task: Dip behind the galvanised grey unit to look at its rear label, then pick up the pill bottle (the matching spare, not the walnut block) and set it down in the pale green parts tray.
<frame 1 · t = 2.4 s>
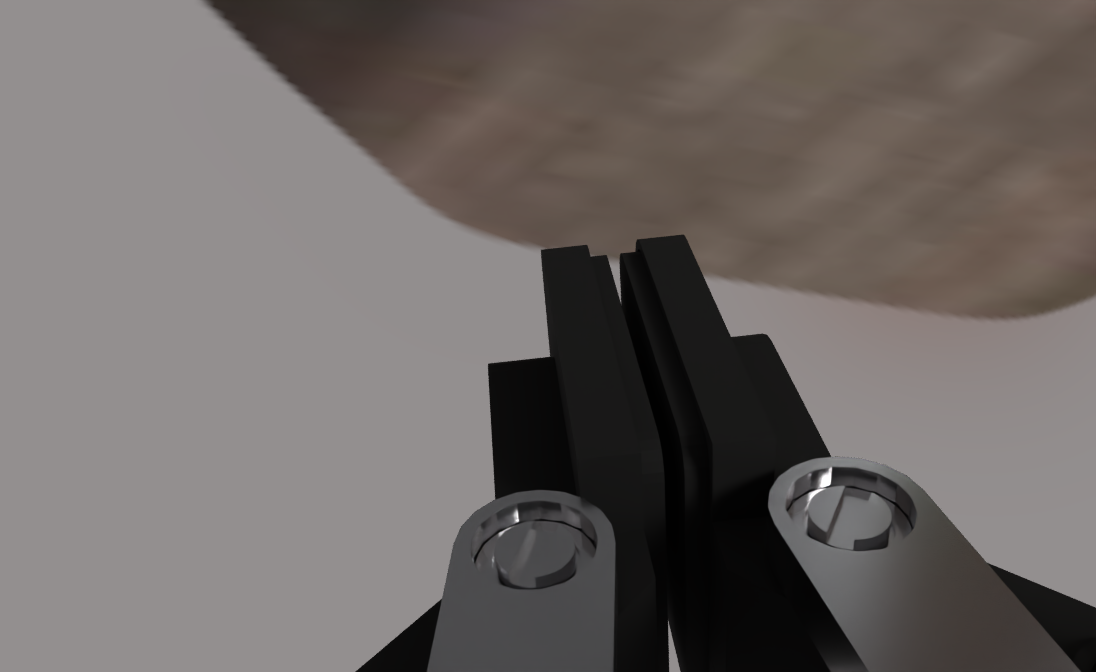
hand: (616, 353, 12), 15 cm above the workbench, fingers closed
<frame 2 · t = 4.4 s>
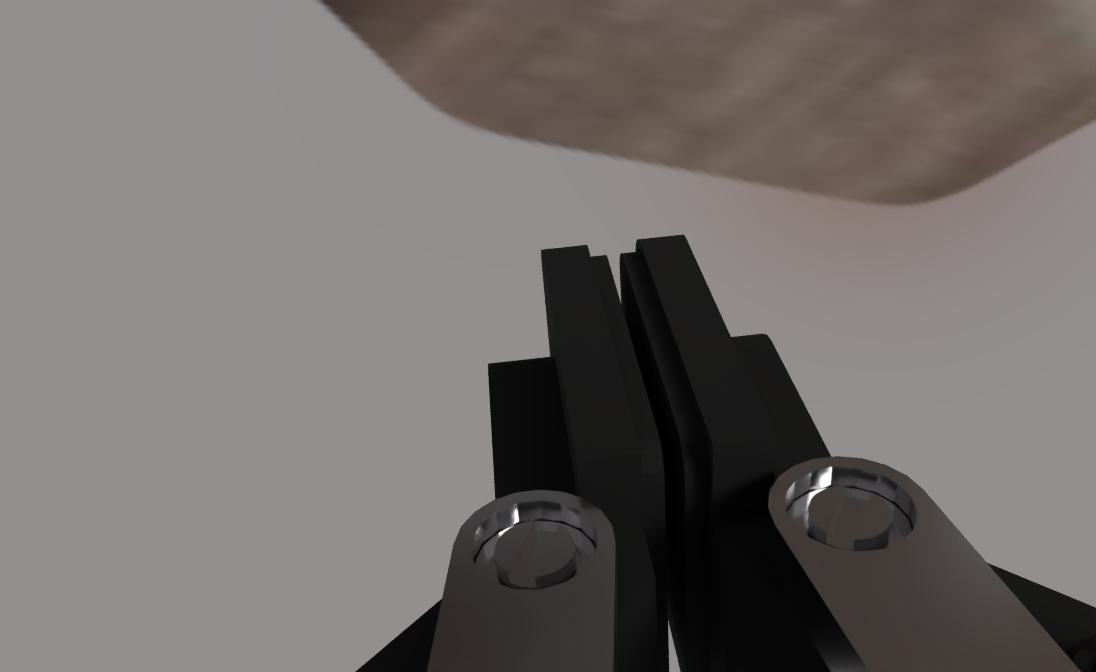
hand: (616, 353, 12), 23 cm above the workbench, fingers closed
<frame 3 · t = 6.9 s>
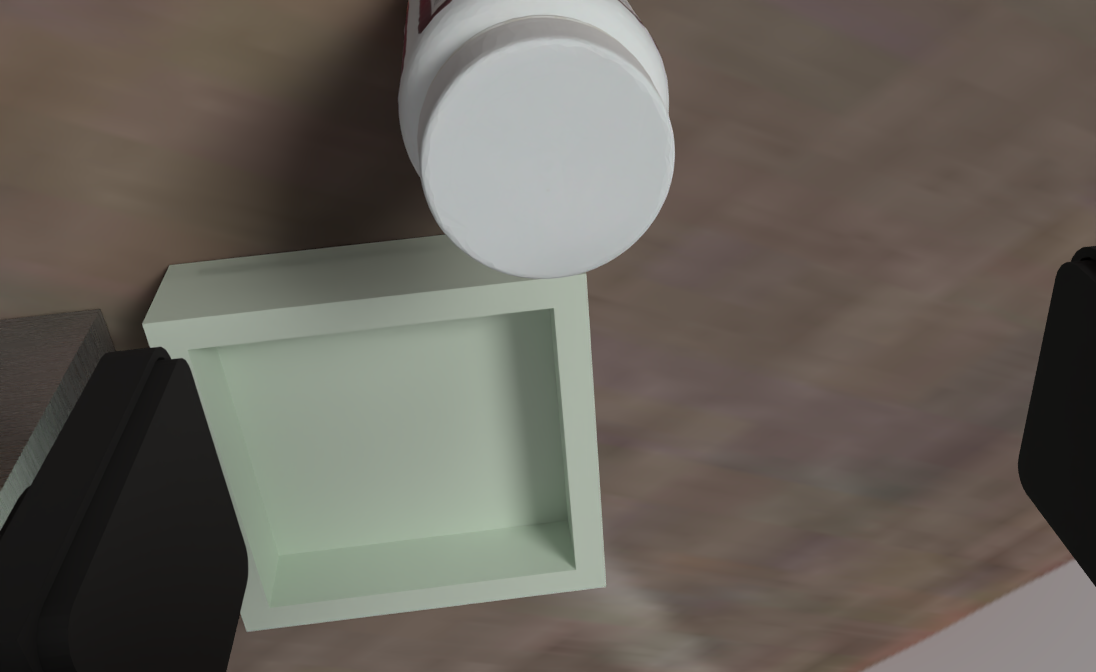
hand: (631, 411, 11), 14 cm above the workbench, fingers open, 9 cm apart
tray: (403, 404, 28), on the workbench
pill bottle: (513, 20, 23), on the workbench
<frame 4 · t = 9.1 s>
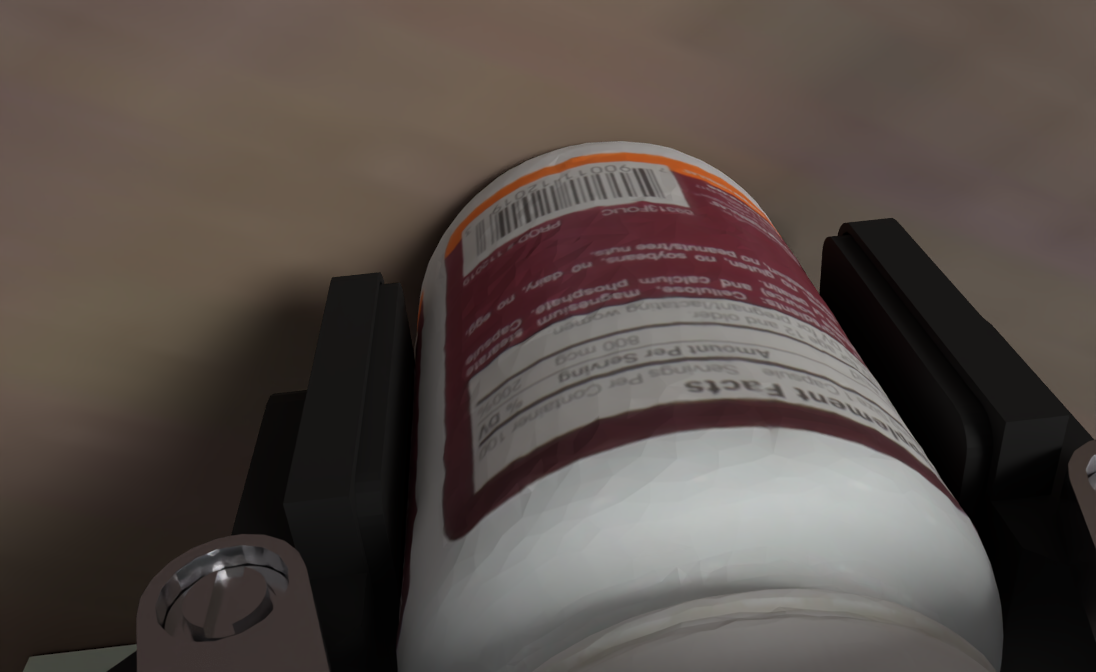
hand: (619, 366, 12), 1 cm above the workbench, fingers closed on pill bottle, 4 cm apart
pill bottle: (603, 299, 13), on the workbench, touching gripper
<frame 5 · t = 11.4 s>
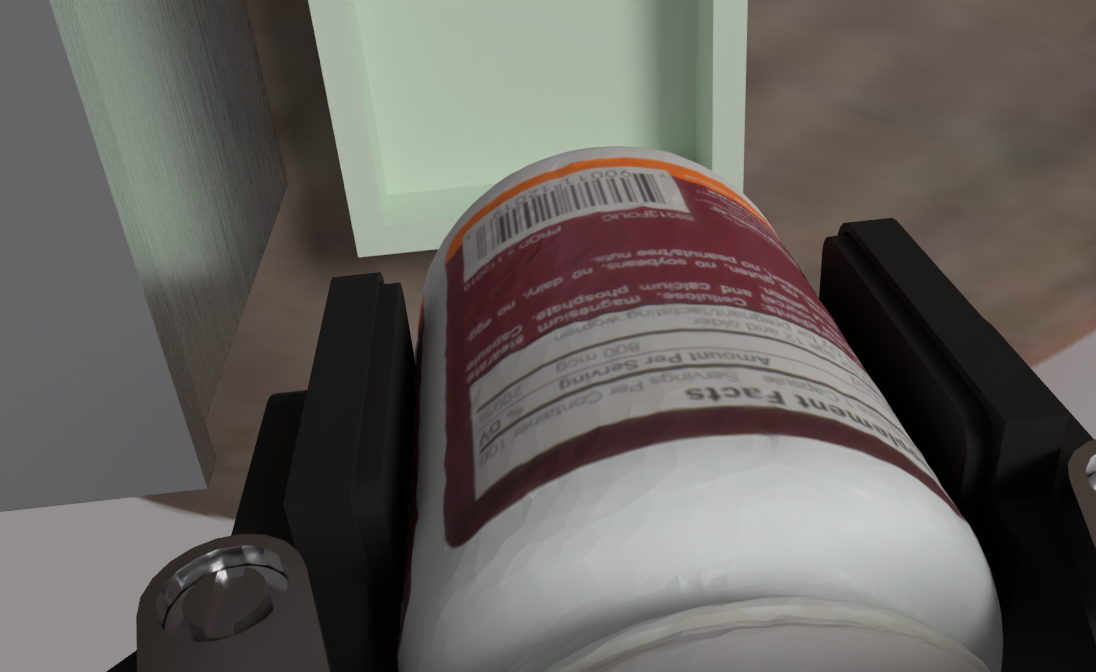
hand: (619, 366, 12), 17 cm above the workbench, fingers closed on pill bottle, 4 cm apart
unit: (96, 57, 26), on the workbench
tray: (527, 14, 26), on the workbench
pill bottle: (603, 303, 13), point 15 cm above the workbench, touching gripper
when the fingers open (4 cm above the workbench, at t = 14.0 s): pill bottle drops 1 cm, resting on tray.
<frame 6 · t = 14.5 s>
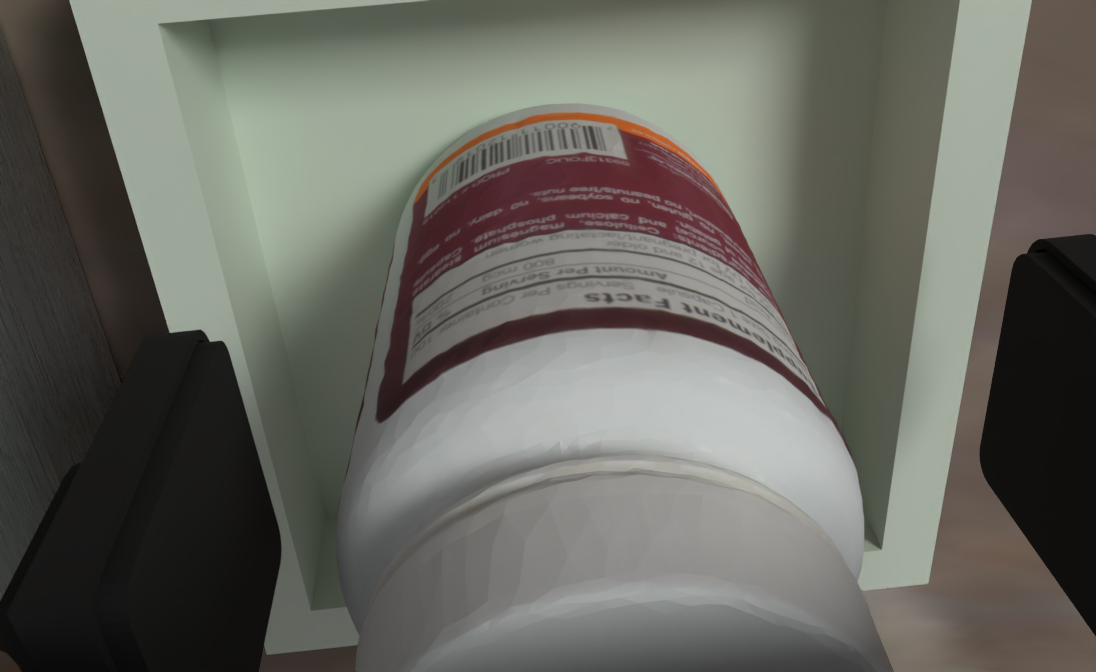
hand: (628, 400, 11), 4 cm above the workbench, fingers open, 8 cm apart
tray: (564, 237, 15), on the workbench
pill bottle: (566, 252, 14), point 1 cm above the workbench, touching tray
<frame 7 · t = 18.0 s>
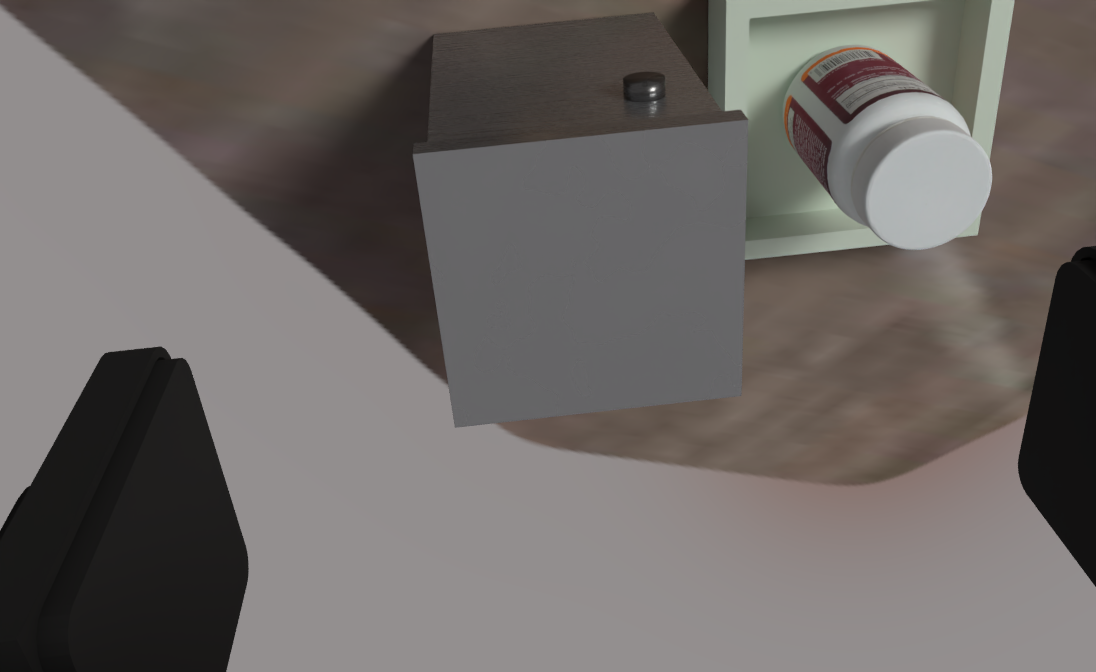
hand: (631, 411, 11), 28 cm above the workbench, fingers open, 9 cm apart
unit: (552, 129, 39), on the workbench
tray: (836, 100, 39), on the workbench
pill bottle: (840, 102, 39), point 1 cm above the workbench, touching tray
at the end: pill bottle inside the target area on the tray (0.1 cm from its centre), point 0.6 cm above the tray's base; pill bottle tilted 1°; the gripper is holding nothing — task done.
